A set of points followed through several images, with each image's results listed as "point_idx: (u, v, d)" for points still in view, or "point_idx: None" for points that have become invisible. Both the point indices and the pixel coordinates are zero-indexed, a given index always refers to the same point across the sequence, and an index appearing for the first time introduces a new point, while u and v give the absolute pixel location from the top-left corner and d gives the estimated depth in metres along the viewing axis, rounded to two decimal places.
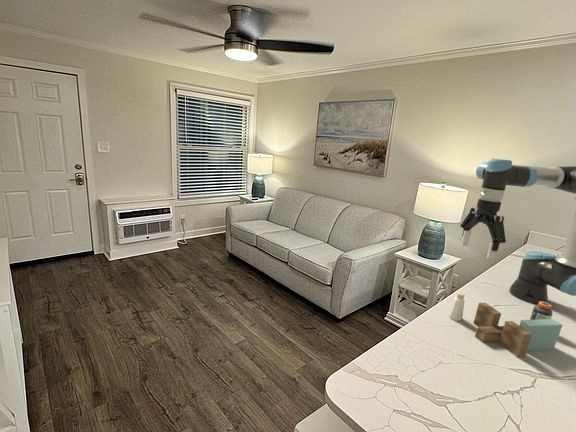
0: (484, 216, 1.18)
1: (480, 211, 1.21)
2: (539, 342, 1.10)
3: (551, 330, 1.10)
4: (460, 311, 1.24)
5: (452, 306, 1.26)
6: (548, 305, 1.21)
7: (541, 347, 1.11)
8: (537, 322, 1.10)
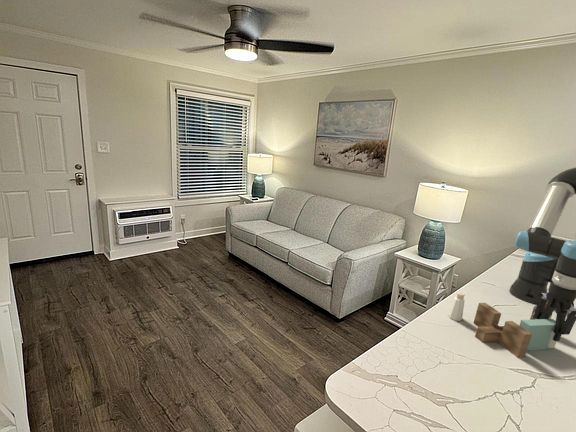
0: (558, 303, 1.08)
1: (551, 293, 1.11)
2: (539, 342, 1.10)
3: (551, 330, 1.10)
4: (460, 311, 1.24)
5: (452, 306, 1.26)
6: None
7: (541, 347, 1.11)
8: (537, 322, 1.10)
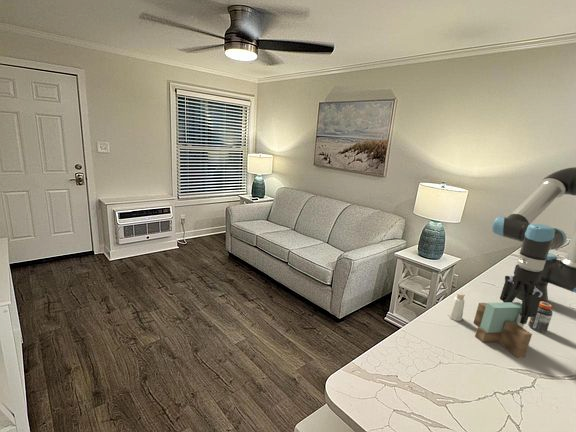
0: (523, 286, 1.09)
1: (517, 276, 1.12)
2: (504, 324, 1.12)
3: (516, 313, 1.11)
4: (460, 311, 1.24)
5: (452, 306, 1.26)
6: (548, 305, 1.21)
7: None
8: (502, 305, 1.12)
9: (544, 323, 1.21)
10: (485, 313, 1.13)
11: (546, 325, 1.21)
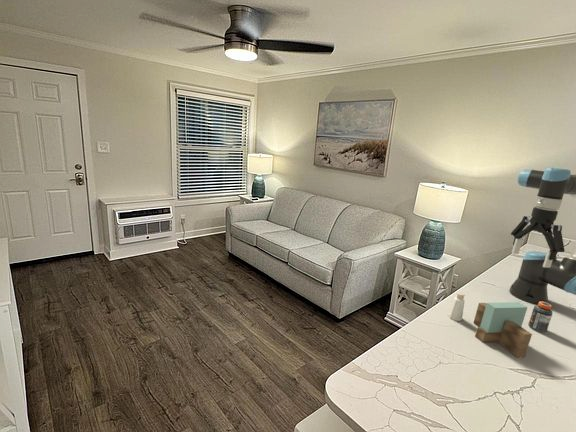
0: (540, 225, 1.18)
1: (534, 220, 1.21)
2: (504, 324, 1.12)
3: (516, 313, 1.11)
4: (460, 311, 1.24)
5: (452, 306, 1.26)
6: (548, 305, 1.21)
7: None
8: (502, 305, 1.12)
9: (544, 323, 1.21)
10: (485, 313, 1.13)
11: (546, 325, 1.21)
